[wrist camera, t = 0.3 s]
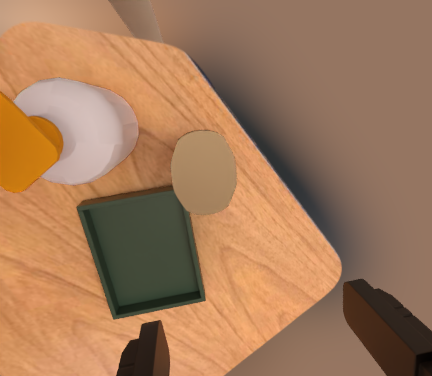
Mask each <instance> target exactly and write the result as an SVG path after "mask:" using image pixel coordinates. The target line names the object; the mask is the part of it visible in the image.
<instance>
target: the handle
mask: <svg viewBox="0 0 432 376" xmlns="http://www.w3.org/2000/svg"><path fill="white" fill-rule="evenodd" d="M171 177H172V184H173V189H174V192H175V194H176V196H177V198H178V199H179V201H180V202H181V204H182V205H183V207H184V208H185V209H186V211H188V212H190V213H193V214H196V215H210V214H215V213H218V212H220V211H222V210H224V209H225V208H226V207H228V206H229V203H230V201H231V199H232V196H233V194H234V191H235V188H236V184H237V173H236V162H235V157H234V155H233V152H232V150H231V149H230V147H229V145H228V143H227V142H226V140H225V138H224V136H222V135H220V134H219V133H217V132H214V131H210V130H197V131H192V132H189V133H186V134H185V135H183V136H182V137H181V138H179V139H178V142H177V144H176V147H175V150H174V153H173V156H172V160H171Z"/></svg>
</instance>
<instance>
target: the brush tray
mask: <svg viewBox="0 0 432 376" xmlns="http://www.w3.org/2000/svg"><path fill="white" fill-rule="evenodd" d="M77 211H78V213H79V216H80V219H81V222H82V226H83V229H84V232H85V235H86V238H87V241H88V244H89V247H90V250H91V253H92V256H93V259H94V262H95V265H96V268H97V271H98V274H99V277H100V280H101V283H102V286H103V290H104V293H105V296H106V299H107V302H108V305H109V308H110V311H111V314H112V317H113V320H114V319H119V318H124V317H129V316H134V315H139V314H144V313H149V312H154V311H158V310H163V309H168V308H173V307H178V306H183V305H188V304H193V303H198V302H203V301H206V299H205V290H204V285H203V279H202V274H201V269H200V264H199V259H198V253H197V248H196V243H195V238H194V233H193V227H192V222H191V217H190V212H188V211H186V209H185V208H184V207H183V205H182V204H181V202H180V201H179V199H178V198H177V196H176V194H175V192H174V189H173V185H172V186H166V187H160V188H154V189H149V190H143V191H137V192H131V193H126V194H120V195H114V196H108V197H102V198H97V199H91V200H85V201H83V202H81V203H80V204H79V205H78V206H77Z"/></svg>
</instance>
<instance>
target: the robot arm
mask: <svg viewBox="0 0 432 376" xmlns="http://www.w3.org/2000/svg"><path fill="white" fill-rule="evenodd" d="M343 312H344V316H345V319H346V321H347V323H348V325H349V326H350V328H351V329H352V330H353V331H354V333H355V334H356V335H357V337H358V338H359V339H360V341H361V342H362V343H363V345H364V346H365V347H366V349H367V350H368V351H369V353H370V354H371V355H372V357H373V358H374V359H375V361H376V362H377V363H378V365H379V366H380V367H381V369H382V370H383V371H384V373H385V374H386V375H387V376H432V331H431V330H430V329H429V328H428V327H427V326H425V325H424V324H423V323H422V322H421V321H420V320H419V319H418V318H416V317H415V316H413V315H412V313H411V312H410V311H409V310H408V309H406V308H404V307H403V305H402V304H401V303H400V302H399V301H398V300H396V299H395V298H394V297H393V296H392V295H390V294H388V293H386V292H384V291H383V290H381V289H373V287H371V286H370V285H369V284H368V283H367V282H366V281H365V280H364V279H358V280H353V281H348V282H345V283H344V285H343ZM169 371H170V355H169V348H168V344H167V340H166V337H165V333H164V329H163V325H162V322H161V320H158V321H153V322H148V323H144V324H142V326H141V330H140V336H139V339H135V340H130V341H129V343H128V345H127V346H126V348H125V349H124V351H123V352H122V355H121V359H120V363H119V369H118V371H117V375H116V376H169Z"/></svg>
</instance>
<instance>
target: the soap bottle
mask: <svg viewBox="0 0 432 376" xmlns="http://www.w3.org/2000/svg"><path fill="white" fill-rule="evenodd" d="M138 136H139V130H138V120H137V118H136V116H135V113H134V111H133V109H132V107H131V106H130V105H129V104H128V103H127V102H126V101H125V99H124V98H123V97H121V96H119V95H118V94H116V93H114V92H113V91H111V90H108V89H105V88H101V87H97V86H94V85H90V84H86V83H83V82H79V81H74V80H69V79H64V78H60V77H59V78H52V79H45V80H39V81H37V82H36V83H34V84H32V85H31V86H29V87H27V88H26V89H24V90H23V91H21V92H20V93H19V94H18V96H17V97H16V99H15V100H14V102H12V101H11V100H10V99H9V98H8V97H7V96H6V95H4V94H3V93H2V92H1V91H0V186H1V187H3V188H4V189H5V190H6V191H9V192H13V193H16V192H22V191H24V190H26V189H27V188H28V187H29V186H30V185H32V184H33V183H34V182H35V181H36V180H37V179H38V178H39V177H42V178H44V179H46V180H48V181H50V182H54V183H60V184H67V185H79V184H85V183H91V182H93V181H95V180H97V179H98V178H100V177H102V176H103V175H105V174H107V173H108V172H109V171H110V170H112V169H113V168H114V167H115V166H117V165H118V164H119V163H120V162H122V161H123V160H124V159H125V158H126V157H128V155H129V154H130V153H131V152H132V150H133V149H134V148H135V146H136V142H137V139H138Z"/></svg>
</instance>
